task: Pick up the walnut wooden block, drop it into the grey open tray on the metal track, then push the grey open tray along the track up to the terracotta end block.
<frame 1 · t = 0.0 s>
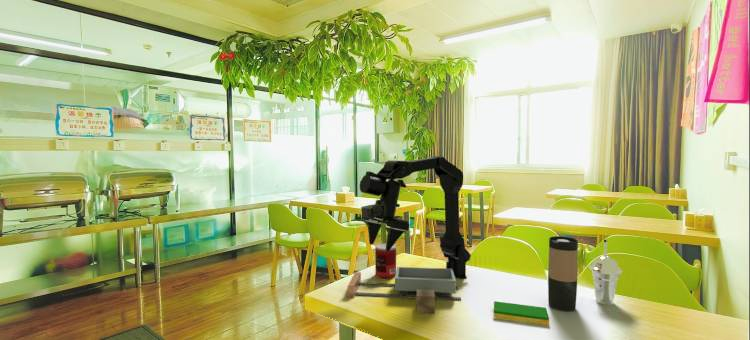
hand: (378, 247, 114), 15 cm above the table, tool pointing down, fingers open, 9 cm apart
walnut block: (425, 309, 104), on the table
grey open tray: (424, 281, 117), point 4 cm above the table, slide at 0.0 cm
travel mug: (561, 307, 106), on the table
dish sponge: (520, 318, 100), on the table
canned food: (385, 275, 134), on the table
track: (406, 291, 118), on the table
cup with straw: (603, 302, 110), on the table
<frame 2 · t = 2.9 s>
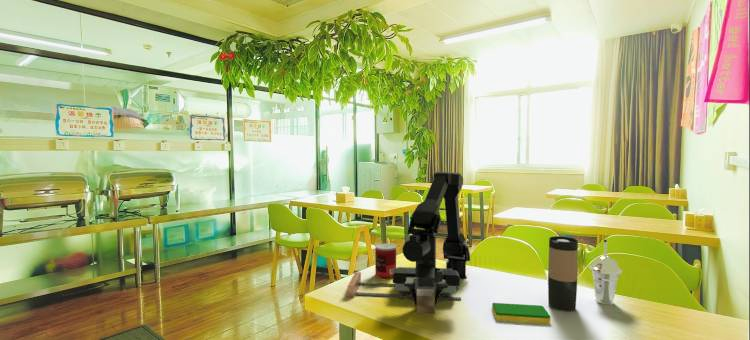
hand: (425, 306, 104), 1 cm above the table, tool pointing down, fingers closed on walnut block, 5 cm apart
walnut block: (425, 309, 104), on the table, touching gripper
when the fingers open (6 cm above the table, at t = 6.6 s): walnut block drops 1 cm, resting on grey open tray.
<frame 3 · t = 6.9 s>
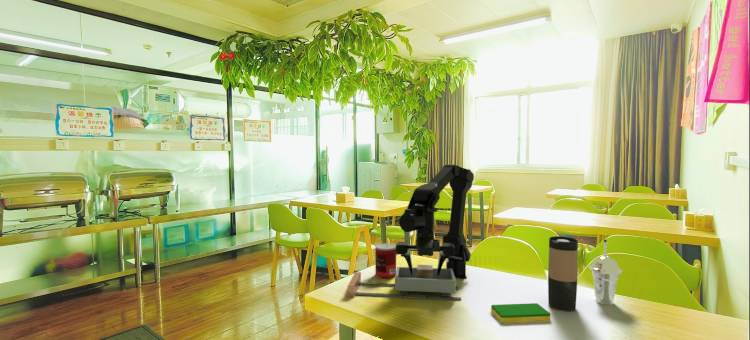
hand: (424, 274, 117), 6 cm above the table, tool pointing down, fingers open, 8 cm apart
walnut block: (424, 282, 117), point 3 cm above the table, touching grey open tray
grey open tray: (424, 281, 117), point 4 cm above the table, slide at 0.0 cm, touching walnut block
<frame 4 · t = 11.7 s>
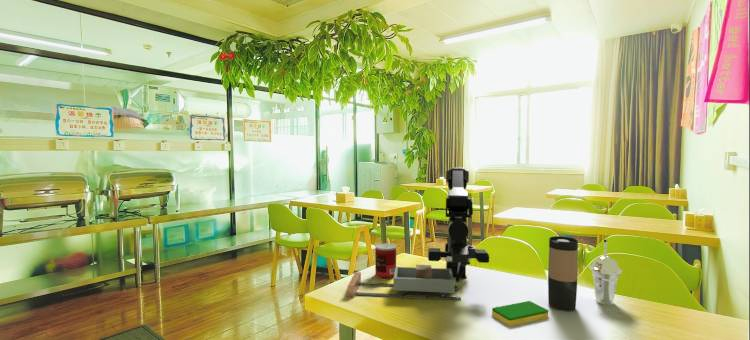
hand: (457, 281, 116), 4 cm above the table, tool pointing down, fingers closed
grey open tray: (423, 281, 117), point 4 cm above the table, slide at 0.4 cm, touching gripper, walnut block
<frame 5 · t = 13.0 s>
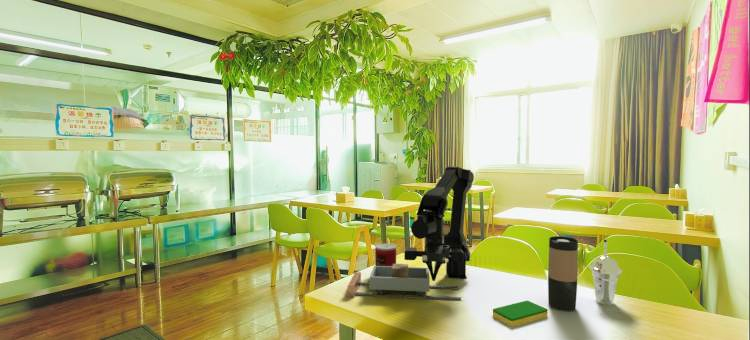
hand: (433, 280, 117), 4 cm above the table, tool pointing down, fingers closed
walnut block: (400, 281, 118), point 3 cm above the table, touching grey open tray
grey open tray: (400, 280, 118), point 4 cm above the table, slide at 8.0 cm, touching gripper, walnut block
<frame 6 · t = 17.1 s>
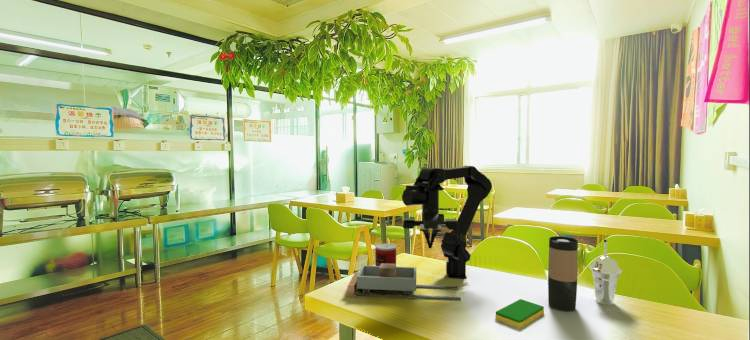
hand: (430, 248, 126), 12 cm above the table, tool pointing down, fingers closed
walnut block: (387, 280, 118), point 3 cm above the table, touching grey open tray
grey open tray: (387, 280, 118), point 4 cm above the table, slide at 12.0 cm, touching walnut block
at the end: grey open tray slide at 12.0 cm; walnut block touching grey open tray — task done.
